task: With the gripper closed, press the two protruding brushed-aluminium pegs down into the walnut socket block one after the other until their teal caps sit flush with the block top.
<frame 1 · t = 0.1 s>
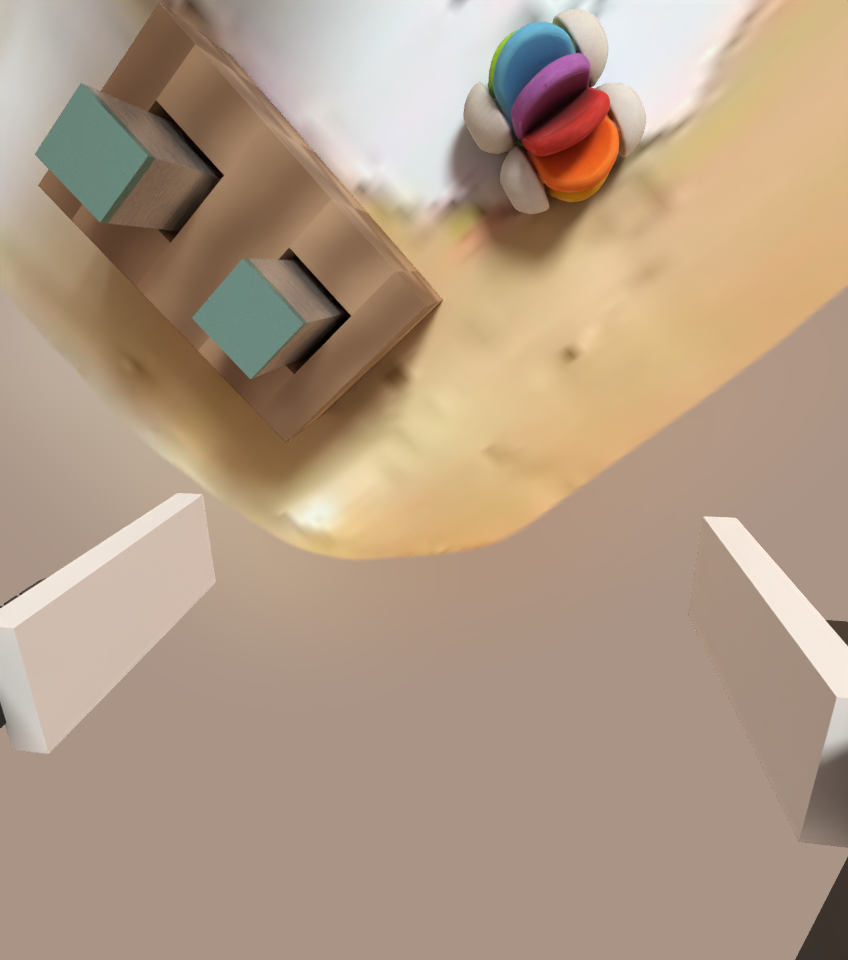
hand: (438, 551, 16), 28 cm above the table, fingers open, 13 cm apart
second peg: (142, 169, 31), point 10 cm above the table, slide at 6.0 cm
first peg: (278, 314, 32), point 10 cm above the table, slide at 6.0 cm
socket block: (281, 249, 41), on the table
rainbow disc car: (550, 127, 37), on the table
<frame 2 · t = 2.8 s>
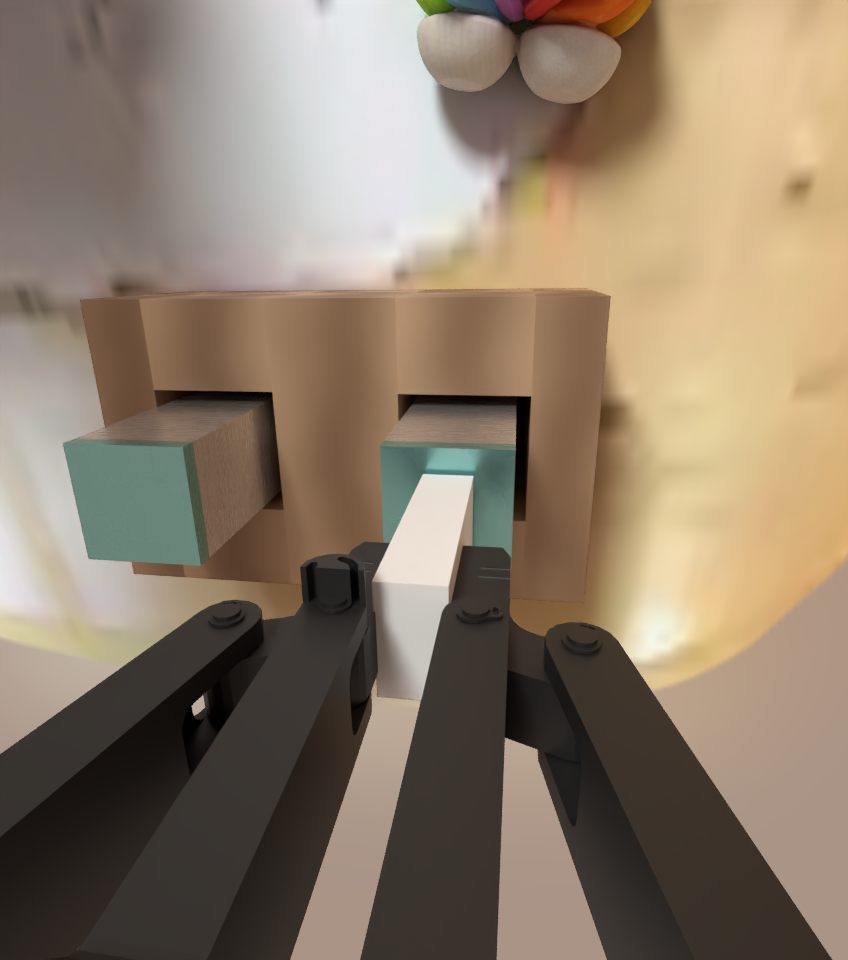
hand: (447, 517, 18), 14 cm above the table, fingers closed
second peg: (196, 466, 23), point 10 cm above the table, slide at 6.0 cm
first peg: (458, 469, 22), point 9 cm above the table, slide at 5.3 cm, touching gripper
socket block: (380, 410, 31), on the table
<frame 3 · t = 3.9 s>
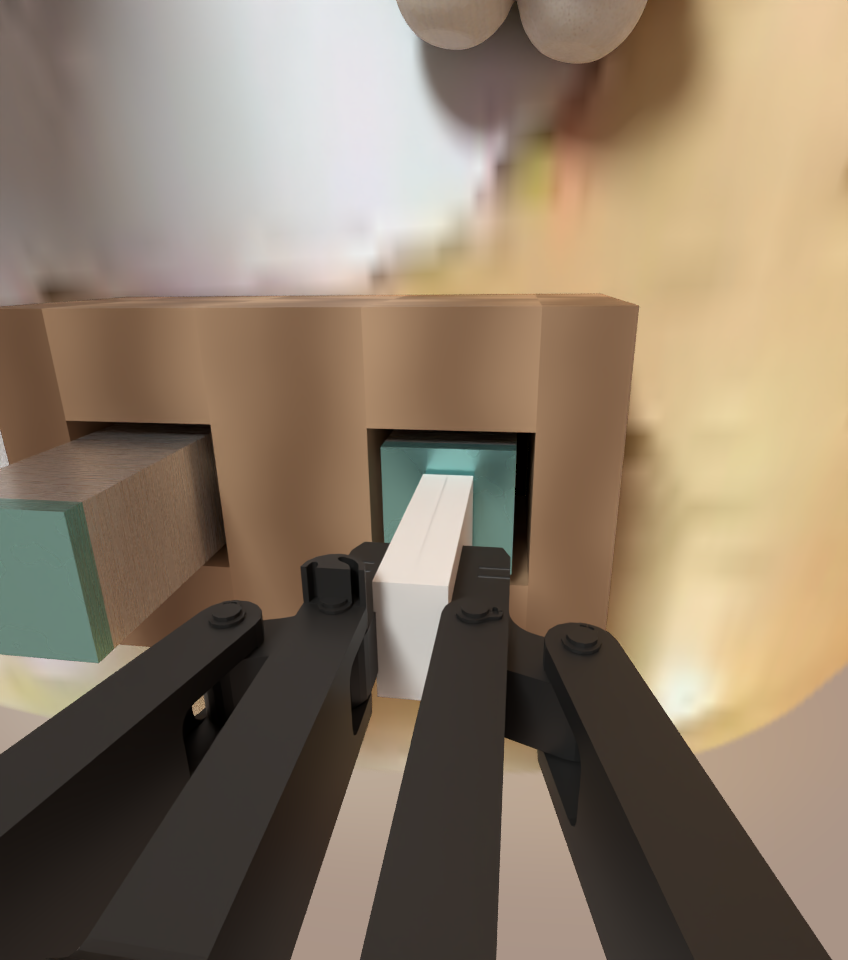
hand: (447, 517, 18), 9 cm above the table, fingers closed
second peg: (112, 519, 18), point 10 cm above the table, slide at 6.0 cm
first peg: (459, 470, 22), point 4 cm above the table, slide at 0.3 cm, touching gripper
socket block: (357, 436, 27), on the table
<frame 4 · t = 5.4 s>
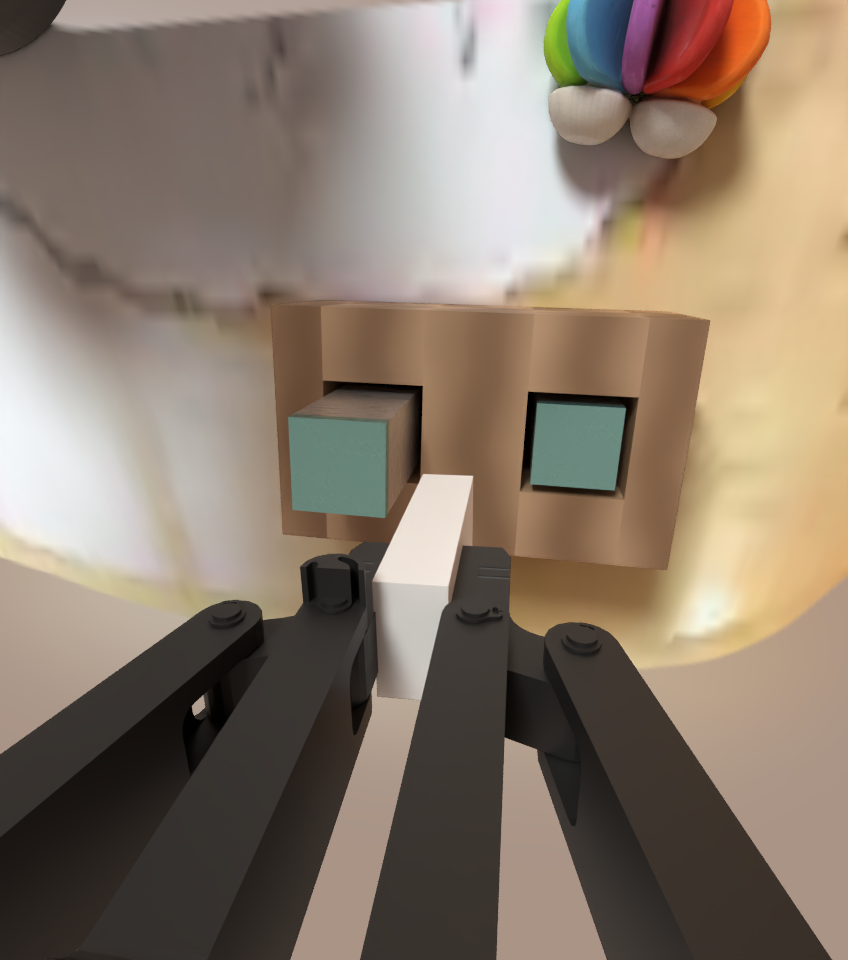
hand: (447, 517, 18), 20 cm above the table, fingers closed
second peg: (362, 443, 28), point 10 cm above the table, slide at 6.0 cm
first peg: (570, 428, 32), point 4 cm above the table, slide at 0.2 cm
socket block: (483, 407, 37), on the table
rainbow disc car: (638, 64, 30), on the table
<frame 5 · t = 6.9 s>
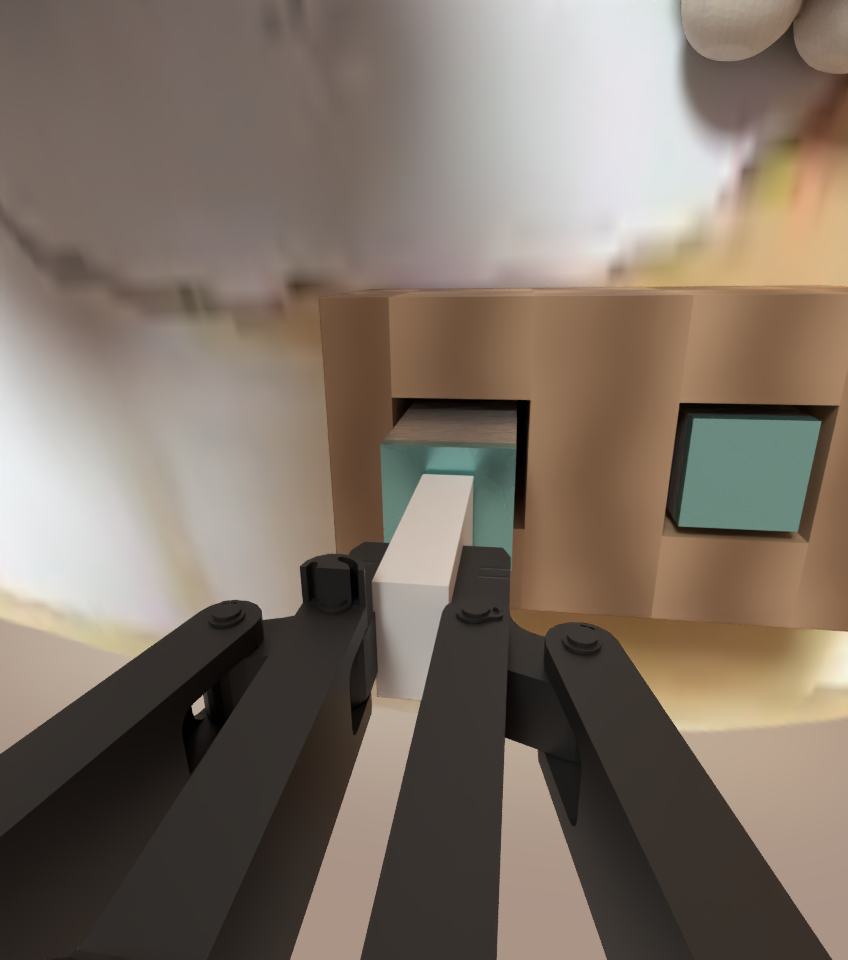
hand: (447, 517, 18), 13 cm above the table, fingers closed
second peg: (459, 468, 22), point 8 cm above the table, slide at 4.4 cm, touching gripper
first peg: (711, 444, 24), point 4 cm above the table, slide at 0.2 cm
socket block: (577, 417, 29), on the table
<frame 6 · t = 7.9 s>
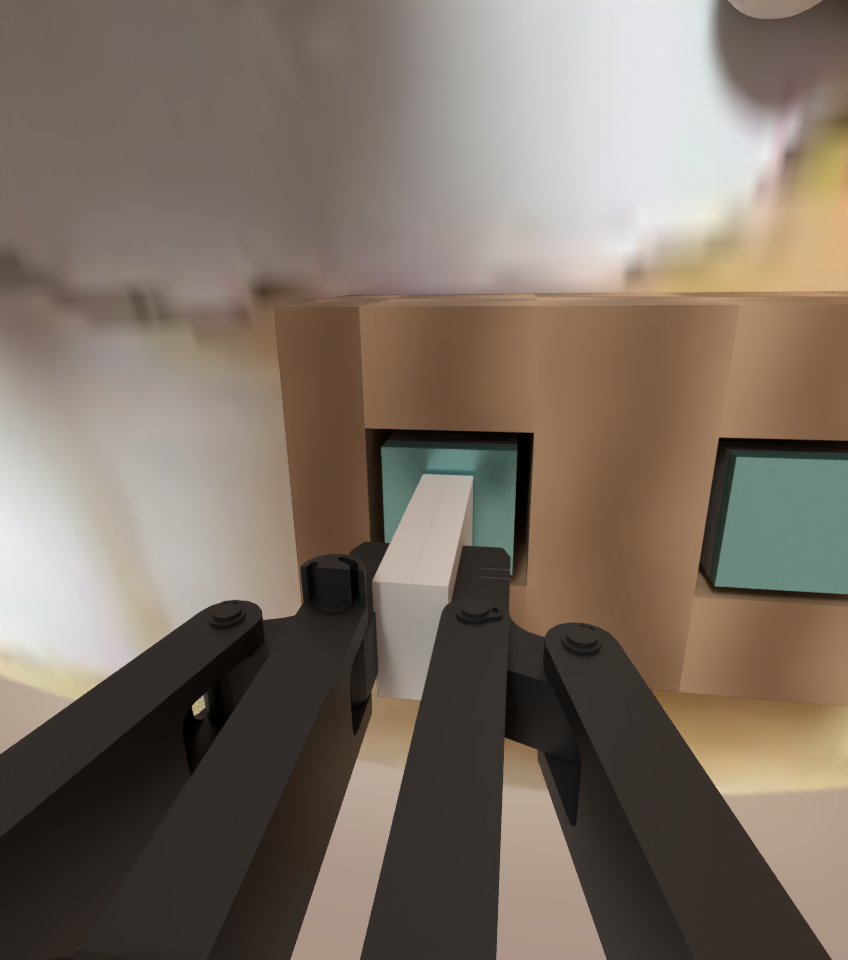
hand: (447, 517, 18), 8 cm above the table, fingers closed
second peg: (460, 470, 22), point 4 cm above the table, slide at 0.2 cm, touching gripper
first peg: (749, 480, 20), point 4 cm above the table, slide at 0.2 cm
socket block: (587, 442, 25), on the table
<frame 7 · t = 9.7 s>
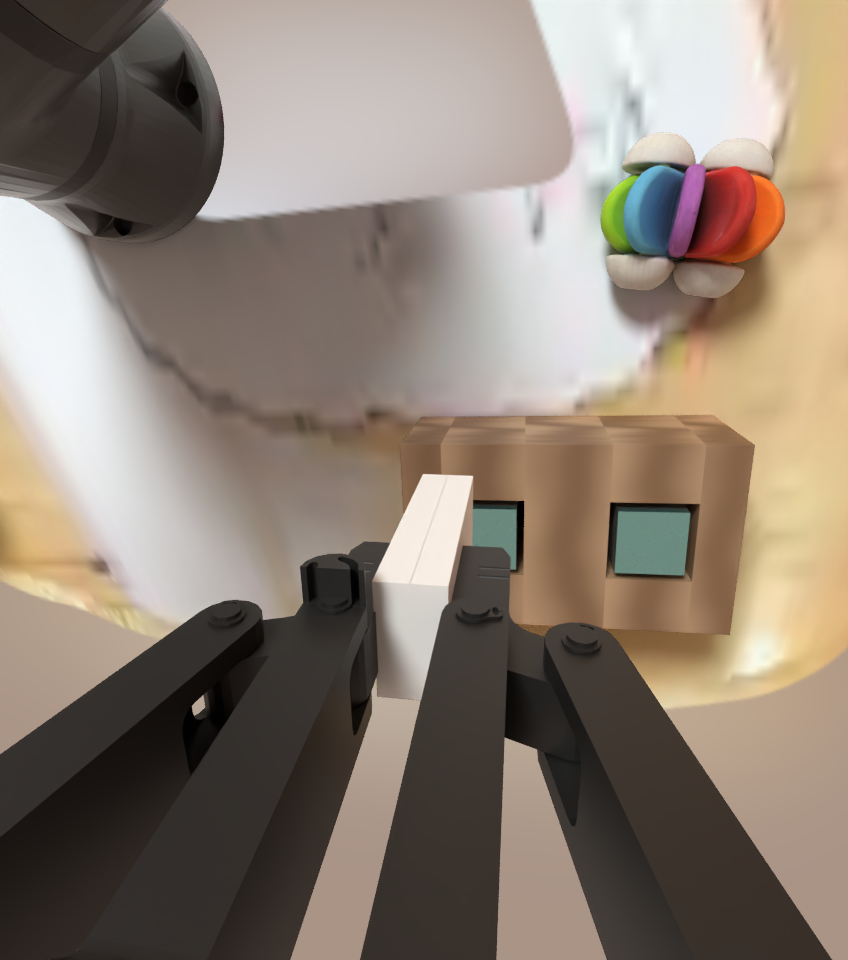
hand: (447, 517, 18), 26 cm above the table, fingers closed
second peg: (487, 515, 41), point 4 cm above the table, slide at 0.2 cm
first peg: (639, 518, 39), point 4 cm above the table, slide at 0.2 cm
socket block: (559, 496, 44), on the table
rainbow disc car: (675, 222, 38), on the table
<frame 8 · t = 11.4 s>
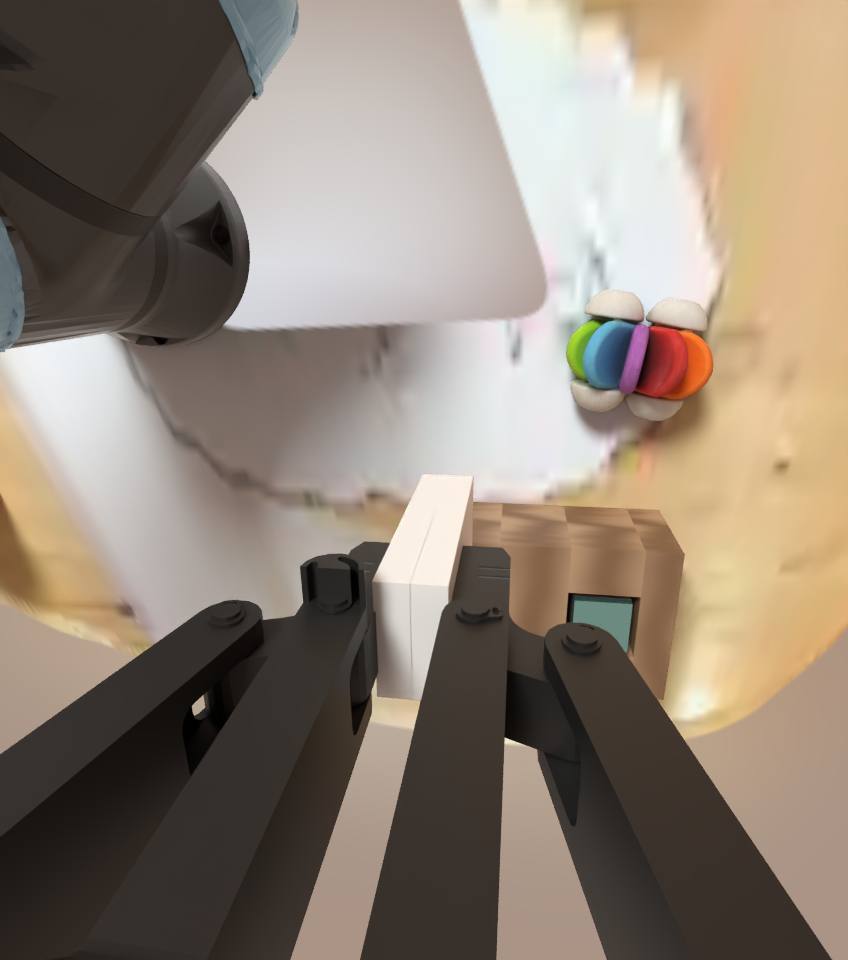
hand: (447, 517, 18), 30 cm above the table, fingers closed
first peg: (594, 598, 47), point 4 cm above the table, slide at 0.2 cm
socket block: (529, 569, 51), on the table
rainbow disc car: (629, 352, 45), on the table
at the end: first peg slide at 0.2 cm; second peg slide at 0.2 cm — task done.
